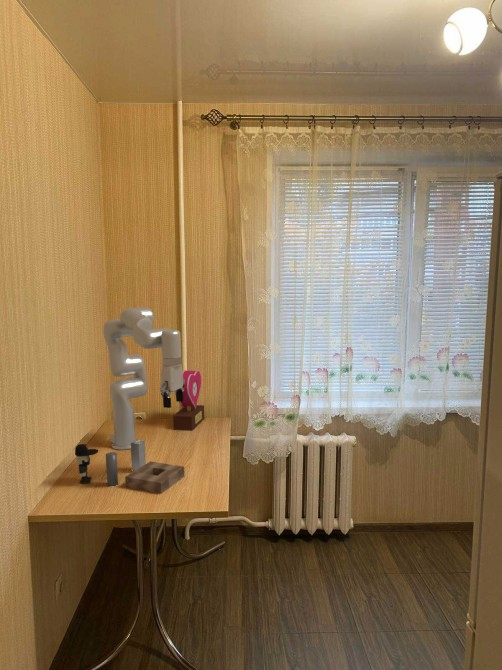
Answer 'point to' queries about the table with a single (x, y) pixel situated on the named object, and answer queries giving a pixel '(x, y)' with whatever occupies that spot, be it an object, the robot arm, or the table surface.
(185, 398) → the decorative clock
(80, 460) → the toy
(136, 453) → the square bit
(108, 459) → the round bit
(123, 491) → the table surface
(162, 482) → the bore block
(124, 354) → the robot arm
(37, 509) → the table surface
